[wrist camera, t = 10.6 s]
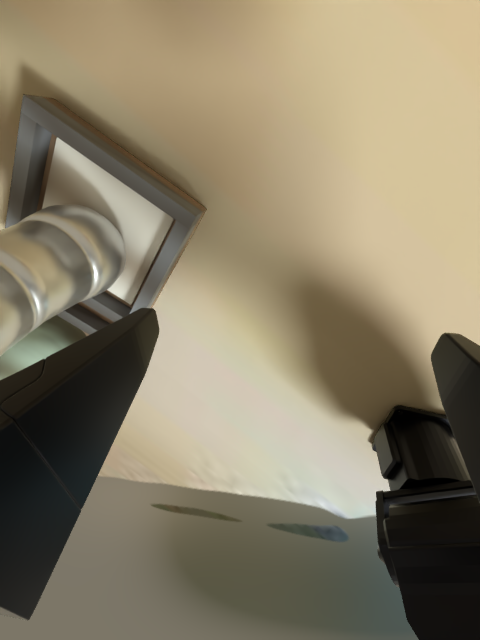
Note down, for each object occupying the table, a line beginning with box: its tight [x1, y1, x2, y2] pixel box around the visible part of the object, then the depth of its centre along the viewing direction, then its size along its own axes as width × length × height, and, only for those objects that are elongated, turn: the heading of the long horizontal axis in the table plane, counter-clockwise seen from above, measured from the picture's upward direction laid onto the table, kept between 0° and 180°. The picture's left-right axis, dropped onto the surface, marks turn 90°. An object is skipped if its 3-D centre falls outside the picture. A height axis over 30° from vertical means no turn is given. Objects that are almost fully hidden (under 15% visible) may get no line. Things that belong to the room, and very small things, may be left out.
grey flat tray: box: [0, 94, 207, 380], centre depth 25 cm, size 26×12×6 cm, turn 147°
